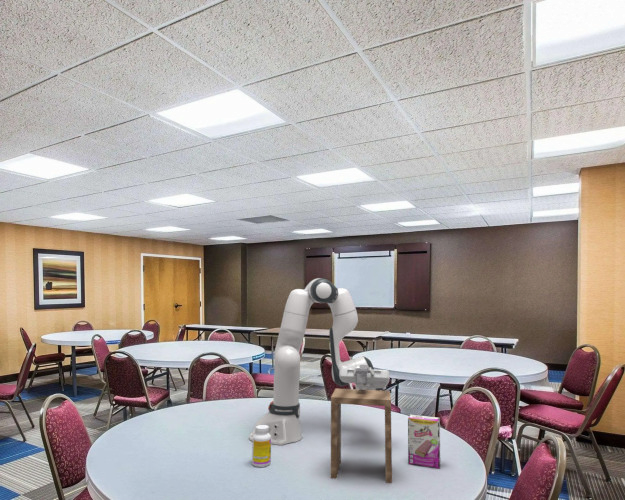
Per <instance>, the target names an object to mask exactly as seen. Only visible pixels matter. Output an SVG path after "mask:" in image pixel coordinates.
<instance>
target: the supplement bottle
mask: <svg viewBox="0 0 625 500" xmlns="http://www.w3.org/2000/svg"><path fill="white" fill-rule="evenodd" d="M255 427H256V433H255V434H254V435H253V441H252V449H251V451H252V453H251V455H252V456H251V459H252V460H251V463H252V465H253V466H254V467H256V468H264V467H267V466H270V465H271V459H272V457H271V455H272V454H271V453H272V444H271V435H270V434H269V433H268V430H269V427H268V426H267V425H258V426H256V425H255Z"/></svg>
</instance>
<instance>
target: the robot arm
mask: <svg viewBox="0 0 625 500" xmlns="http://www.w3.org/2000/svg"><path fill="white" fill-rule="evenodd" d="M314 303H315V304H316V303H319V304H327V305H328V307H329V308H330V311H331V316H332V321H333V322H332V326H331V327H330V328H329V332H328V335H329V349H330V357H331V358H330V359H331V377H332V380H333V382H334V384H335V385H337V386H339V387H345V386H347V385H349V384H354V387H355V389H358V390H380V391H385V390H386V389H387V386H388V385H389V382H390V370H387V369H375V367H374V365H373V363H372V362H371V360H370V359H369V358H368V357H366V356H364V355H363V356H360V357H359V356H358V357H356V358H352V359H349V360H346V361H341V354H340V344H341V343H340V342H341V341H342V339H344V337H346V336H347V335H348V334H351V332H352V331H354V329H355V328H356V327H357V325H358V322H359V318H358V316H359V315H358V312H357V308H356V305H355V302H354V298H353V297H352V295H351V294H350V292H349V290H348V289H346V288H344V287H341V288H340V287H339V288H338V287H337V286H335V285H334V283H333V282H332V281H330V280H328V279H326V278H324V277H323V278H321V277H317V278H314V279H312V280H310V281H309V282H308V283H307V285H306V286H304V288H302V289H301V288H296V289H293V290H291V291H290V293H289V294H288V297H287V300H286V303H285V306H284V310H283V315H282V319H281V323H280V328H279V332H278V336H277V340H276V343H275V344H276V345H275V348H274V353H273V361H274V366H273V367H274V368H273V397H272V399H273V400H272V401H271V402H270V403H269V405H268V407H267V410H268V412H267V413H266V414H265V415H263V416H262V417H260V418H259V419H258V420H257V422H256V423H255V428H254V430H252V431H251V432H250V434H249V435H248V440H249V441H251V442H253V435H254V434H255V433H256V426H258V425H267V426H268V427H269V430H268V433H269V434H270V435H271V445H279V446H283V445H286V444H290V443H295V442H298V441H301V440H302V439H303V435H302V429H301V426H300V415H301V404H300V400H299V399H300V376H301V374H300V373H301V355H300V352H301V351H300V350H301V347H302V343H303V340H304V337H305V333H306V330H307V329H306V328H307V324H308V320H309V319H308V318H309V314H310V310H311V306H312V305H313V304H314ZM360 365H368V367H367V373H368V374H367V383H358V382H356V369H359V367H360Z"/></svg>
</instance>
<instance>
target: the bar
mask: <svg viewBox="0 0 625 500" xmlns="http://www.w3.org/2000/svg"><path fill="white" fill-rule="evenodd" d="M367 367H368V365H360V367H359V369H356V382H358V383H367V374H368V373H367Z"/></svg>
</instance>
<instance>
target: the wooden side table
mask: <svg viewBox="0 0 625 500" xmlns="http://www.w3.org/2000/svg"><path fill="white" fill-rule="evenodd" d="M391 398H392V397H391V390H358V389H356V388H355V389H354V388H353V389H352V388H337V387H336V388H334V391H333V393H332V394H331V396H330V479H333V478H334V480H337V479H336V478H338V476H337V475H339V472H340V466H341V463H342V405H358V406H372V407H373V406H376V407H377V406H378V407H384V443H385V445H384V448H385V450H384V451H385V452H384V455H385V456H384V458H385V460H384V461H385V463H384V465H385V484H393V462H392V457H393V455H392V453H393V452H392V451H393V449H392V448H393V447H392V445H393V444H392V399H391ZM338 471H339V472H338Z"/></svg>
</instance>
